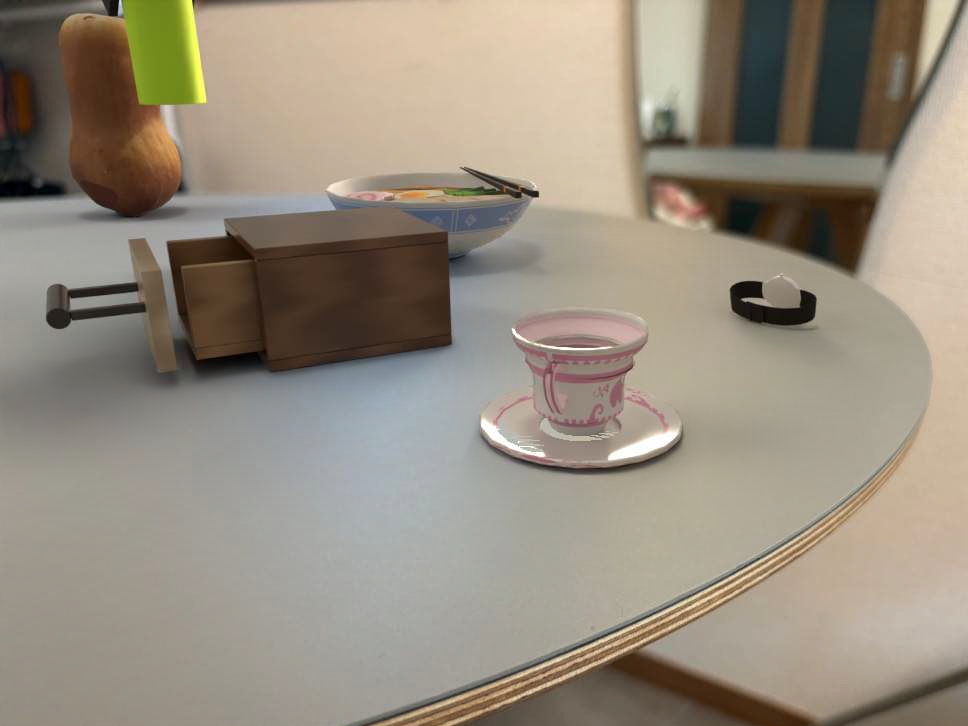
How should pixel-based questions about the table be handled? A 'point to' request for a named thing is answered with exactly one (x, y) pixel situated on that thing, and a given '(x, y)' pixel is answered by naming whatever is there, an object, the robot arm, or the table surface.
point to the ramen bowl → (444, 202)
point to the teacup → (582, 392)
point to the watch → (774, 301)
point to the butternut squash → (114, 121)
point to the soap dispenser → (164, 51)
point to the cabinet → (347, 284)
